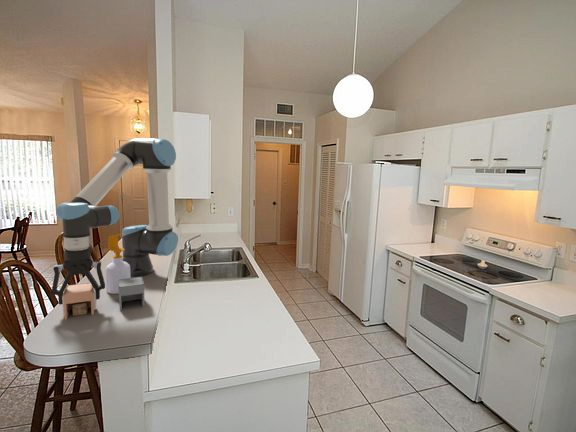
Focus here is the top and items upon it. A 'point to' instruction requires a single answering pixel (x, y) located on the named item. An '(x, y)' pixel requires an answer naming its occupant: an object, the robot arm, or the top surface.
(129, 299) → the slate cover
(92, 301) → the terracotta cover
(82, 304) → the letter cube
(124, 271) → the soap bottle
